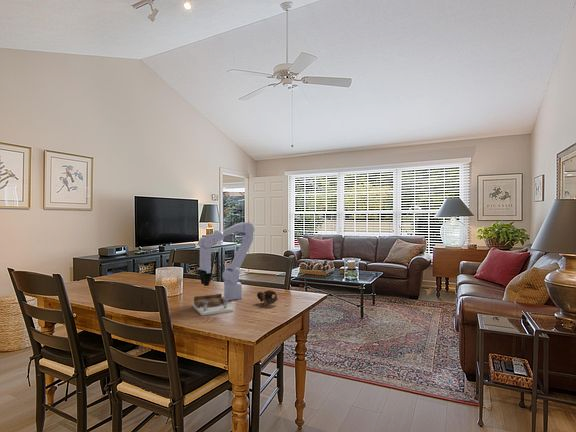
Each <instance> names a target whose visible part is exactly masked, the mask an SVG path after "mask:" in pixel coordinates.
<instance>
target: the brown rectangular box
mask: <svg viewBox="0 0 576 432" xmlns="http://www.w3.org/2000/svg"><path fill="white" fill-rule="evenodd" d="M222 297H223V296H222V293H217V294H206V295H198V296H197V295H196V296H194V297H193V304H195V305H196V306H197V307H198V308H200V306H204V304H203V302H205V301H207V302H208V304H207V307H209V306H217V305H220V303H223V304H224V302H223V298H222Z"/></svg>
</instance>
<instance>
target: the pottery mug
mask: <svg viewBox="0 0 576 432" xmlns="http://www.w3.org/2000/svg"><path fill="white" fill-rule="evenodd" d="M273 296H274V297H273ZM256 297H257V299H258V300H259V301H260V302H263V305H262V306H264V307H267V305H272V304H274V303H276V302H277V301H278V300H279V299H278V294H277V293H276V291H273V290H271V289H268V290H264V292H262V291H259V292H257V294H256Z"/></svg>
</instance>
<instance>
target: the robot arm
mask: <svg viewBox="0 0 576 432" xmlns="http://www.w3.org/2000/svg"><path fill="white" fill-rule="evenodd" d="M237 232H238V233H239V235H240V236H241V239H242V241H241V243H240V245H239V247H238V249H237V251H236V253H235V255H234V257H233V259H232V262H230V263H231V264H229V265H228V266H227V267H226V268H225V270H224V271H223V272H222V274H221V277H222V279H223V296H221V297H222V298H223V299H228V301H232V300H233V301H234V300H240V299H243V297H242V295H243V294H242V293H243V292H242V291H243V289H242V282H240V280H239V279H240V274H241V266H242V264H243V262H244V260H245V258H246V255H247V254H248V252H249V249H250V248H251V245H252V243H253V241H254V232H255V227H254V224H253V223H252V222H243V221H241V222H238V223H235V224H232V225H231V226H229V227H227V228H225V229H223V230H222V231H220V230H213V233H210V234H206V235H205V236H202V237H200V238H199V239H198V242H197V245H198V246H199V267H197V273H198V276H199V277H200V282H201V285H203V286H204V287H208V286H209V285H210V280H211V277H212V275H213V272H212V271H211V270H212V266H211V265H212V264H211V263H212V261H211V258H212V252H211V251H212V247H213V246H214V245H215V244H217V243H219V242H221V241H223V240H224V238H225V237H228V236H229V235H232V234H234V233H237Z"/></svg>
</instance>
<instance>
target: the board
mask: <svg viewBox="0 0 576 432" xmlns="http://www.w3.org/2000/svg"><path fill="white" fill-rule="evenodd" d="M223 302H224V304H223V303H220V305H217V306H209V307H207V304H208V302H207V301H205V302H203V304H204V306H200V308H198V307H197V306H196V305H195V304H194V303H192V307H193V308H194V309H195V311H197V313H199V315H201V316H208V315H217V314H224V313H229V312H230V313H231V312H234V309H233V308H232V307H231V306H230V305H228V302H229V300H228V299H223Z"/></svg>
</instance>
